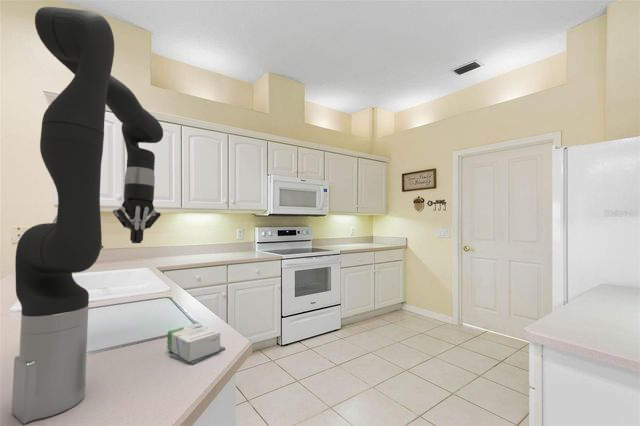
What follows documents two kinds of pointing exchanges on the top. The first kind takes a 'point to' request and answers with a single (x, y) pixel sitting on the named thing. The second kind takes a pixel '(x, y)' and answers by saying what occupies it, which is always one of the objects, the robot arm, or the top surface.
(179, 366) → the top surface
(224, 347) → the mat
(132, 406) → the top surface
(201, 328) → the ink box
